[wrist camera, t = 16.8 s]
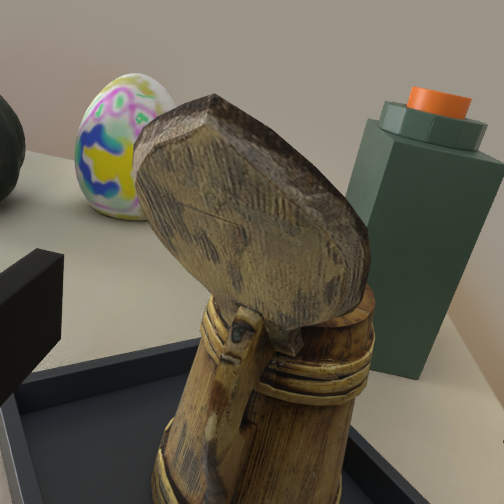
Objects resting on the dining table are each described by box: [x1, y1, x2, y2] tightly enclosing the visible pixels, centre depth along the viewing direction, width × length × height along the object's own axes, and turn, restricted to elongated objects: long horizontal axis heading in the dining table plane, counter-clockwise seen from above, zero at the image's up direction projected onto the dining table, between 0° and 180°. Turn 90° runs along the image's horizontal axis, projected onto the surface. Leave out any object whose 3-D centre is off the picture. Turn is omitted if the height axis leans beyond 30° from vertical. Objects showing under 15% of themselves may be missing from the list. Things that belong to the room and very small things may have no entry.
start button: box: [406, 86, 472, 120], centre depth 32 cm, size 4×4×2 cm
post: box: [345, 101, 504, 380], centre depth 36 cm, size 12×7×18 cm, turn 174°
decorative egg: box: [75, 73, 176, 221], centre depth 51 cm, size 12×12×15 cm
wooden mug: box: [132, 94, 376, 504], centre depth 17 cm, size 9×14×18 cm, turn 154°
